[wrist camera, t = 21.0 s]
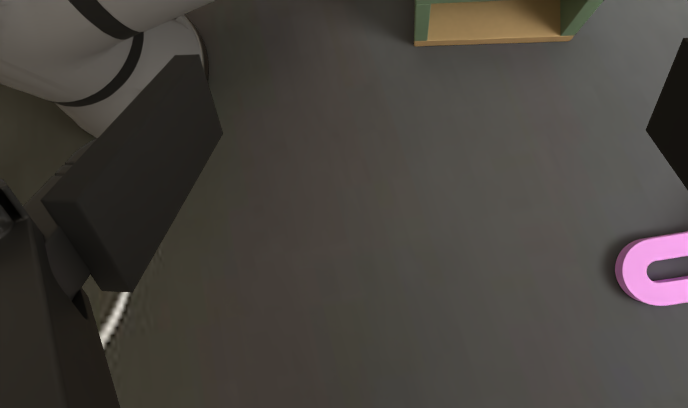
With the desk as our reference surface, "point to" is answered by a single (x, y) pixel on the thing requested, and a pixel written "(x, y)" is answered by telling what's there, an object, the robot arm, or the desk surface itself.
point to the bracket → (637, 260)
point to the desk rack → (498, 21)
